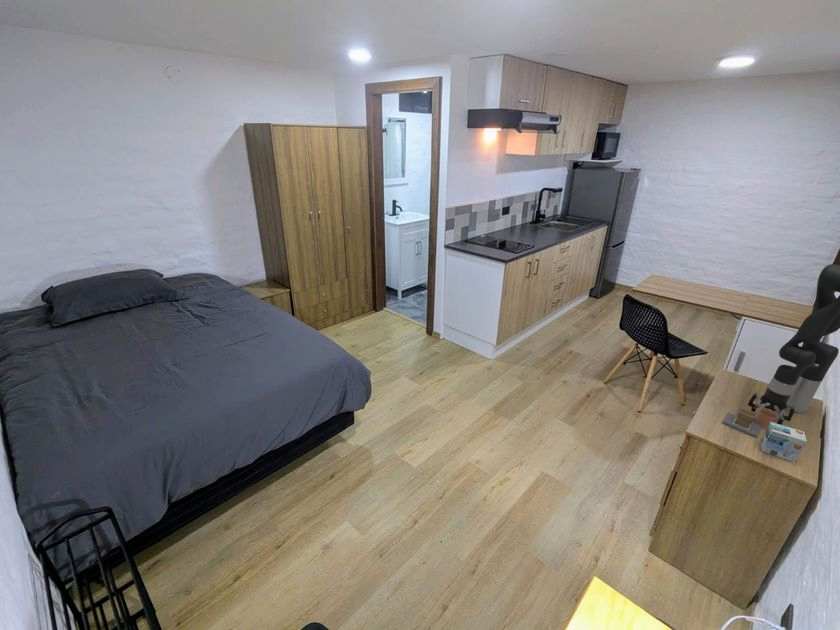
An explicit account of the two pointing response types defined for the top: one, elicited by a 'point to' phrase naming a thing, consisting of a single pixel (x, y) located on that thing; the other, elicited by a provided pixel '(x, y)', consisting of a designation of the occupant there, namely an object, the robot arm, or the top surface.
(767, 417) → the rust block
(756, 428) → the plate
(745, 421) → the walnut block
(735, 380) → the top surface
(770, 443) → the light bulb box
